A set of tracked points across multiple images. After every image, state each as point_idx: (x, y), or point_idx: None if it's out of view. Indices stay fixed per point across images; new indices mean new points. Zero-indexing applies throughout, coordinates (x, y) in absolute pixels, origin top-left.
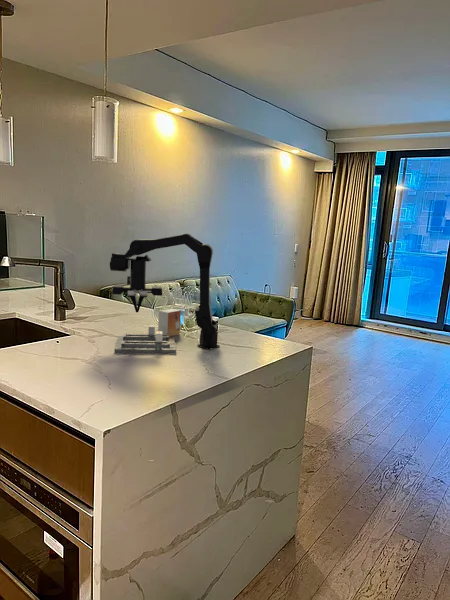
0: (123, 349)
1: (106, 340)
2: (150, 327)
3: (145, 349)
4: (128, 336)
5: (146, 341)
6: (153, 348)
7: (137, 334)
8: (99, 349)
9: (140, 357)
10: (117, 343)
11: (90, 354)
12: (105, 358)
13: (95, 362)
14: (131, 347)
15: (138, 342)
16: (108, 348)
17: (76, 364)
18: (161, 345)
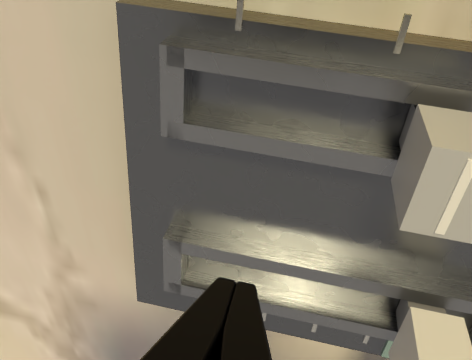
0: (185, 310)
1: (40, 7)
2: (421, 230)
3: (309, 338)
4: (206, 138)
5: (336, 282)
6: (363, 335)
7: (296, 80)
8: (54, 211)
9: (275, 354)
10: (139, 210)
11: (36, 272)
12: (116, 329)
13: (87, 355)
14: None
15: (278, 267)
16: (99, 203)
17: (26, 354)
18: None
